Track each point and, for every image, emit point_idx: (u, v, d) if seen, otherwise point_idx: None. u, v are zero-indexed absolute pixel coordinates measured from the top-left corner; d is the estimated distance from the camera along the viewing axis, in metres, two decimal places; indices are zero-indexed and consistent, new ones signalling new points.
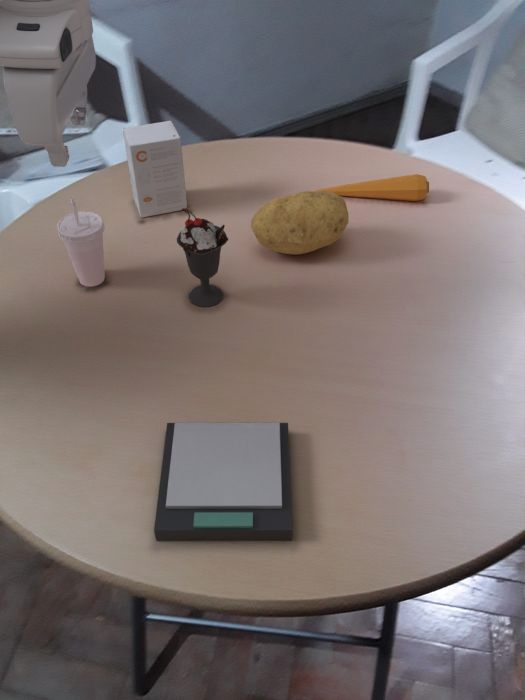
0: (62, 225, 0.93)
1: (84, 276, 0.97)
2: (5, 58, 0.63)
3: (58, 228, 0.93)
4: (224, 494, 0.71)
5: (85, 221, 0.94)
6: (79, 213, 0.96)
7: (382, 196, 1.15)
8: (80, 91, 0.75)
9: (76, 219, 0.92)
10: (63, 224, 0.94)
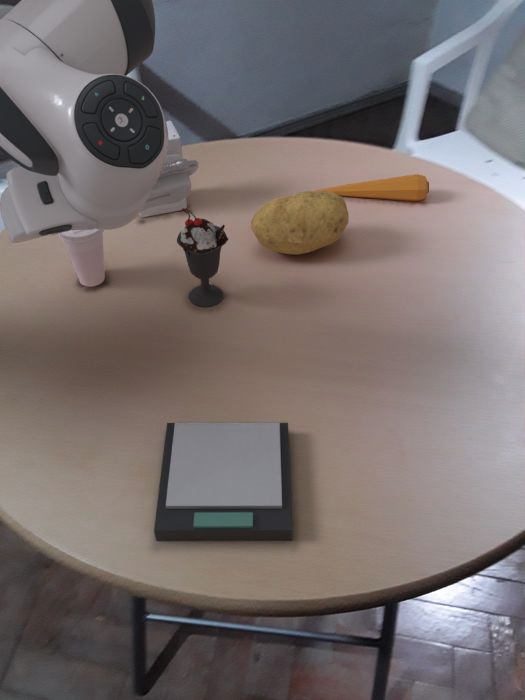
0: None
1: (84, 276, 0.97)
2: (8, 188, 0.65)
3: None
4: (224, 494, 0.71)
5: None
6: None
7: (382, 196, 1.15)
8: None
9: None
10: None
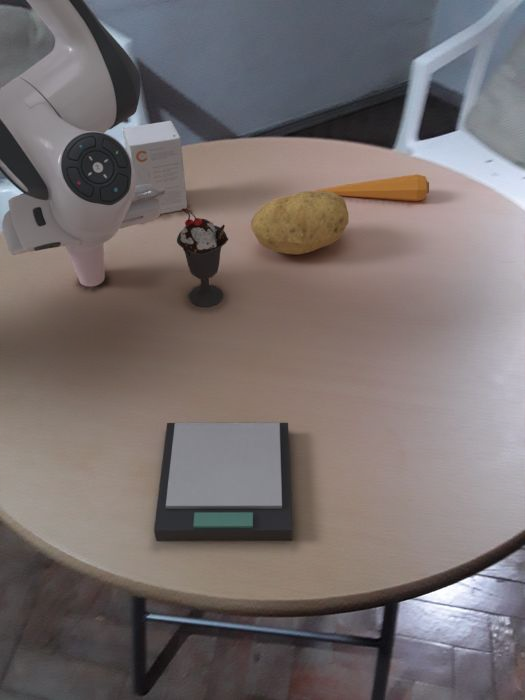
0: None
1: (84, 276, 0.97)
2: (10, 212, 0.80)
3: None
4: (224, 494, 0.71)
5: None
6: None
7: (382, 196, 1.15)
8: None
9: None
10: None
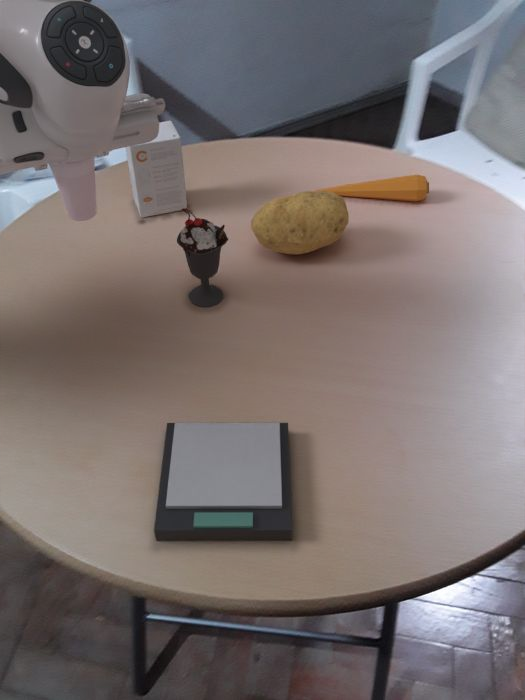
0: None
1: (74, 208, 0.87)
2: None
3: None
4: (224, 494, 0.71)
5: None
6: None
7: (382, 196, 1.15)
8: None
9: None
10: None
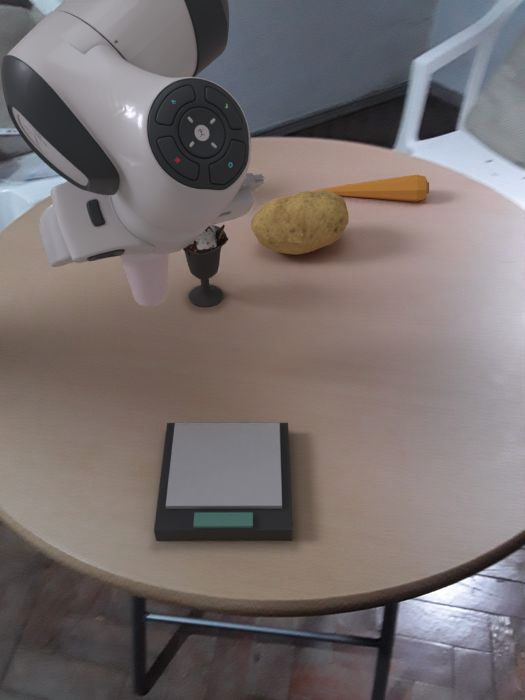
0: None
1: (143, 293, 0.73)
2: (53, 207, 0.56)
3: None
4: (224, 494, 0.71)
5: None
6: None
7: (382, 196, 1.15)
8: None
9: None
10: None
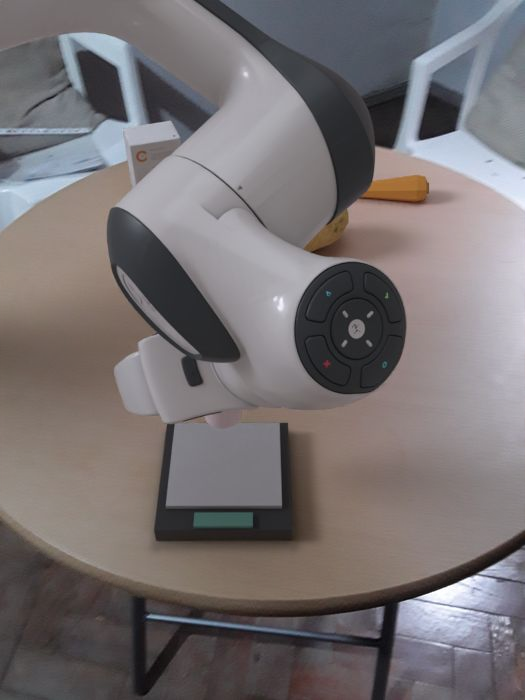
0: None
1: (217, 416, 0.65)
2: (141, 361, 0.48)
3: None
4: (224, 494, 0.71)
5: None
6: None
7: (382, 196, 1.15)
8: None
9: None
10: None
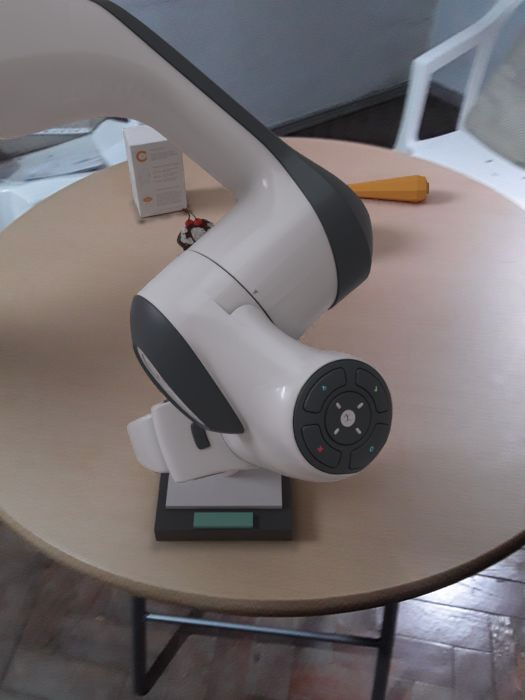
0: None
1: None
2: (153, 425, 0.53)
3: None
4: (224, 494, 0.71)
5: None
6: None
7: (382, 196, 1.15)
8: None
9: None
10: None
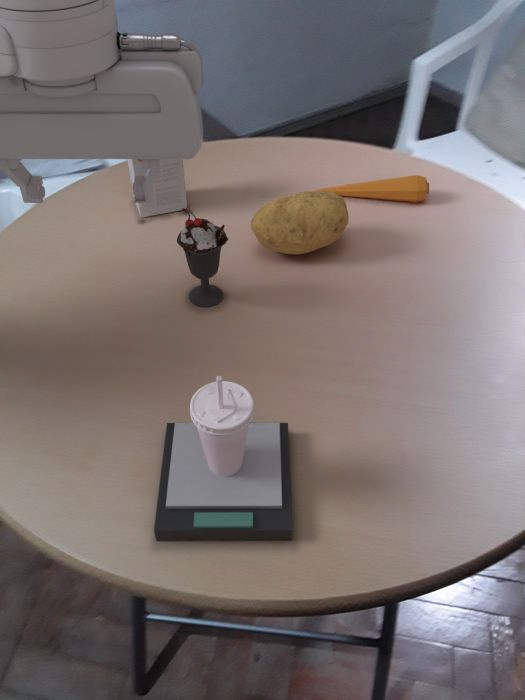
0: (197, 407, 0.67)
1: (220, 466, 0.71)
2: None
3: (193, 413, 0.66)
4: (224, 494, 0.71)
5: (229, 400, 0.67)
6: None
7: (382, 197, 1.15)
8: (87, 150, 0.54)
9: (219, 402, 0.66)
10: (198, 405, 0.67)
